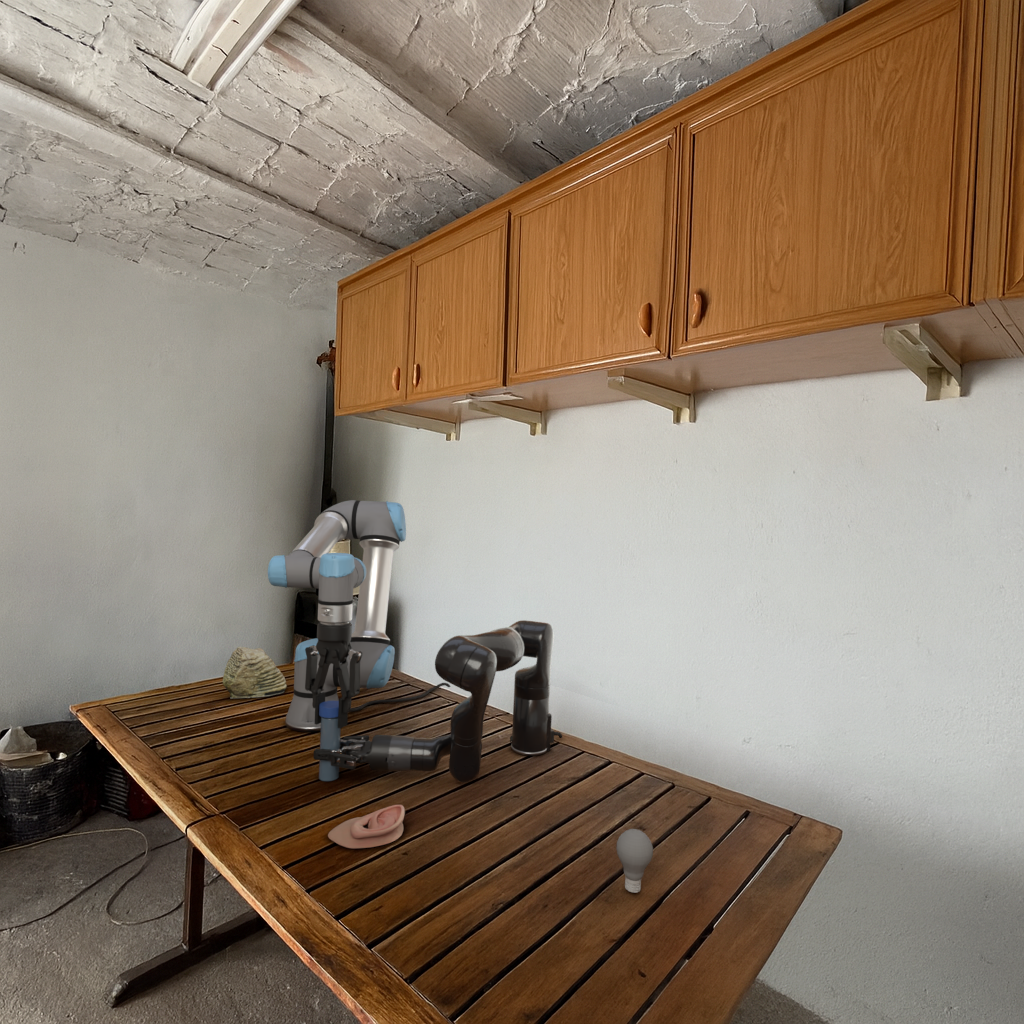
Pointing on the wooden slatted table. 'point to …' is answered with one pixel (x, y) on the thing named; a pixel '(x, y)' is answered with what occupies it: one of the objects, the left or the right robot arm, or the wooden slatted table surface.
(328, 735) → the jar
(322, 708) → the lid
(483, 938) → the wooden slatted table surface
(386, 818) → the anatomical model
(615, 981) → the wooden slatted table surface
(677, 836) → the wooden slatted table surface
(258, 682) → the fossil
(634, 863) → the light bulb
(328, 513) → the left robot arm
